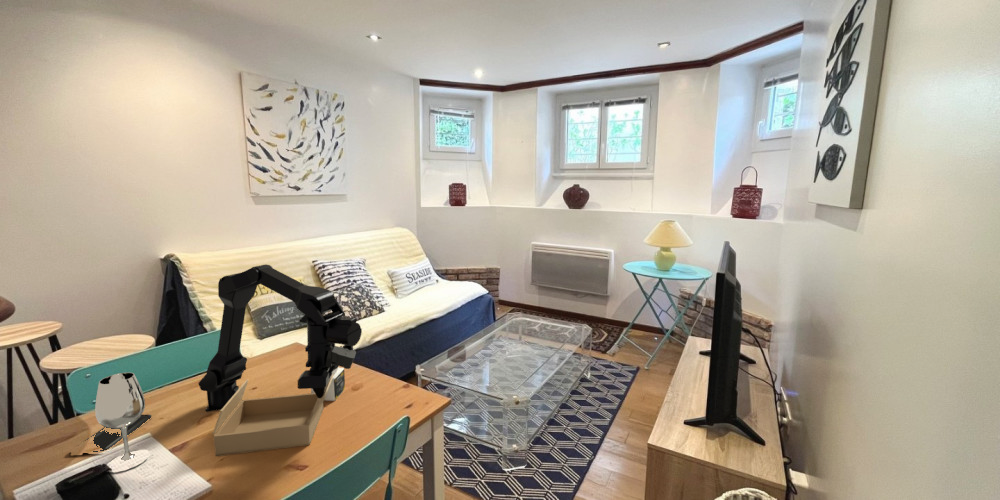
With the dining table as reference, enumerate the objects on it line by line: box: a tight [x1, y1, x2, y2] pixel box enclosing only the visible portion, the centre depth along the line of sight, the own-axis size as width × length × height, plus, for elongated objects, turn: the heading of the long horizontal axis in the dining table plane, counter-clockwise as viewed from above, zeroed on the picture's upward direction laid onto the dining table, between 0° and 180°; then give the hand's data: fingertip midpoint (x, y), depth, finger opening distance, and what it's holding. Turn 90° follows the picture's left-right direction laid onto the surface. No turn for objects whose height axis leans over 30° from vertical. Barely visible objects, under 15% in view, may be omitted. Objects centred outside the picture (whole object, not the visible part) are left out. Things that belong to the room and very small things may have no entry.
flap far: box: [309, 374, 334, 425], centre depth 101 cm, size 6×15×1 cm
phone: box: [84, 414, 152, 452], centre depth 96 cm, size 8×1×15 cm
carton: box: [213, 393, 324, 457], centre depth 99 cm, size 20×16×5 cm
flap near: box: [212, 378, 249, 436], centre depth 96 cm, size 6×15×1 cm
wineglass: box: [94, 371, 146, 461], centre depth 86 cm, size 8×8×20 cm
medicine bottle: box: [310, 364, 346, 402], centre depth 116 cm, size 7×7×12 cm
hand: (320, 397), depth 101 cm, fingers closed, pressing on flap far
